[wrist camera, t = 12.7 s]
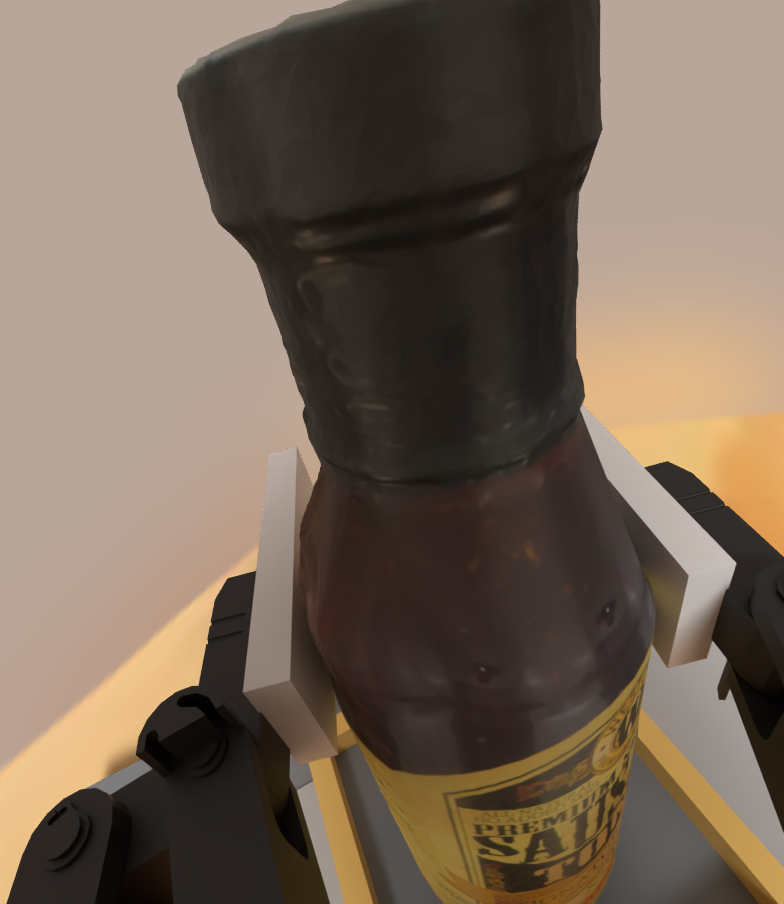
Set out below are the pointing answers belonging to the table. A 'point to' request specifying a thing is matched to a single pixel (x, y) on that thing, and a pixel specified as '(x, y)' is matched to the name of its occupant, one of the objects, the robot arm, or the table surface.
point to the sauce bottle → (446, 415)
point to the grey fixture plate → (643, 820)
